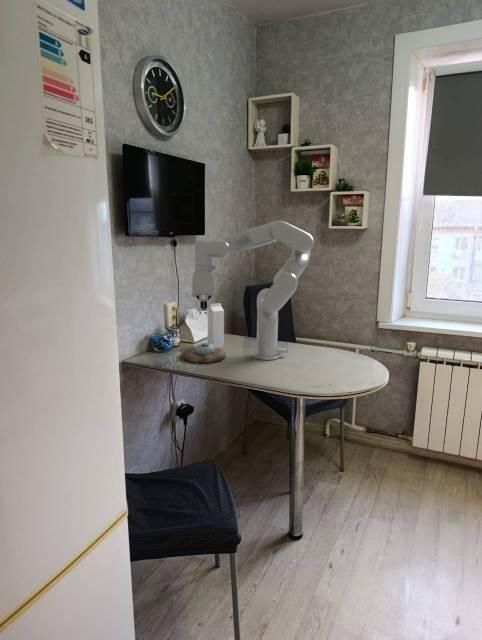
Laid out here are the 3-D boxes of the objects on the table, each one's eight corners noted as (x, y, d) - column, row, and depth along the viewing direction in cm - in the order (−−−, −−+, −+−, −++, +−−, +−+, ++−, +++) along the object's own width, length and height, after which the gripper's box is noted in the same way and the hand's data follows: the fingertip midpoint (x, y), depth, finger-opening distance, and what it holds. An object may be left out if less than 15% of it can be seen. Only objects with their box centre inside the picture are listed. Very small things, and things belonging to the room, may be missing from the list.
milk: (207, 346, 217) (207, 303, 212) (218, 344, 220) (218, 302, 215) (213, 349, 212) (213, 304, 207) (224, 347, 215) (224, 303, 210)
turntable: (224, 349, 209) (224, 346, 209) (227, 362, 190) (227, 358, 190) (182, 350, 208) (182, 347, 207) (181, 362, 188) (180, 359, 188)
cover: (213, 350, 203) (213, 341, 202) (214, 354, 195) (214, 346, 194) (196, 350, 202) (196, 342, 201) (196, 355, 194) (196, 346, 194)
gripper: (220, 268, 195) (220, 308, 199) (186, 268, 193) (187, 308, 197) (221, 269, 187) (220, 311, 191) (186, 269, 186) (186, 311, 190)
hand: (203, 309), depth 194 cm, fingers closed
